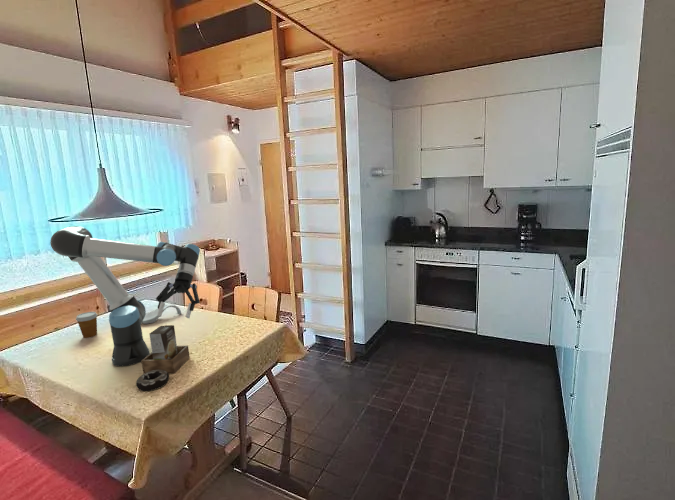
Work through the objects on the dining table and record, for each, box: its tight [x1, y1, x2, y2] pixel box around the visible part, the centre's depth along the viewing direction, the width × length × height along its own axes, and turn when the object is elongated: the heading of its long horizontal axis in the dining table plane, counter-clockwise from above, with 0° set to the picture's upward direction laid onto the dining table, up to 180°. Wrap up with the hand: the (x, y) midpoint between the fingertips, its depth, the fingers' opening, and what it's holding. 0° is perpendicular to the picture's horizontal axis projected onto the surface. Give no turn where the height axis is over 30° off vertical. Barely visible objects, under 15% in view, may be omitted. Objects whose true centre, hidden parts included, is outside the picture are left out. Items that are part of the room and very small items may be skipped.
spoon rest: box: [141, 303, 182, 325], centre depth 216 cm, size 24×12×7 cm, turn 136°
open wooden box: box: [141, 345, 191, 375], centre depth 159 cm, size 14×14×6 cm
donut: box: [135, 370, 170, 392], centre depth 144 cm, size 12×12×4 cm
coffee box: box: [149, 324, 178, 360], centre depth 158 cm, size 9×6×16 cm
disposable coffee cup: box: [75, 311, 98, 339], centre depth 195 cm, size 10×10×12 cm
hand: (173, 316), depth 168 cm, fingers open, 13 cm apart
